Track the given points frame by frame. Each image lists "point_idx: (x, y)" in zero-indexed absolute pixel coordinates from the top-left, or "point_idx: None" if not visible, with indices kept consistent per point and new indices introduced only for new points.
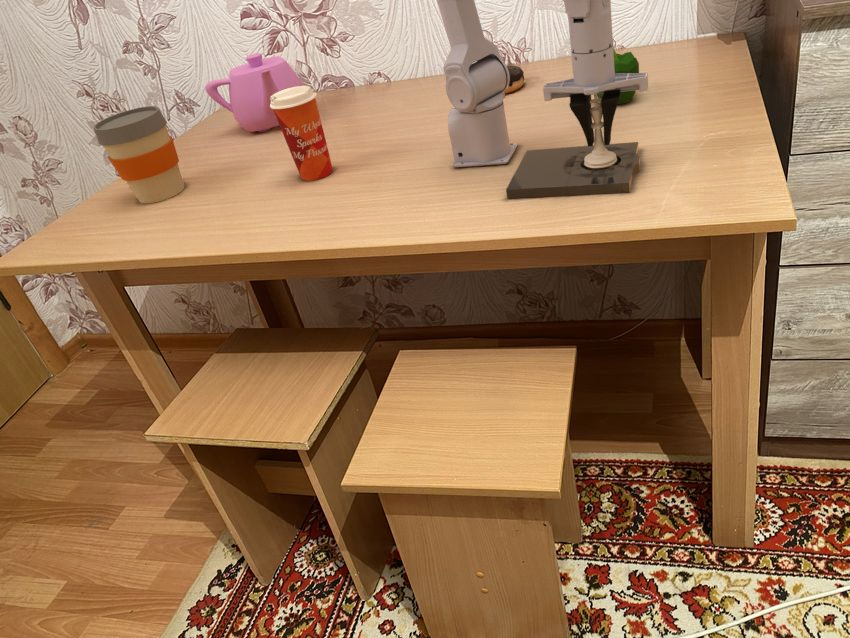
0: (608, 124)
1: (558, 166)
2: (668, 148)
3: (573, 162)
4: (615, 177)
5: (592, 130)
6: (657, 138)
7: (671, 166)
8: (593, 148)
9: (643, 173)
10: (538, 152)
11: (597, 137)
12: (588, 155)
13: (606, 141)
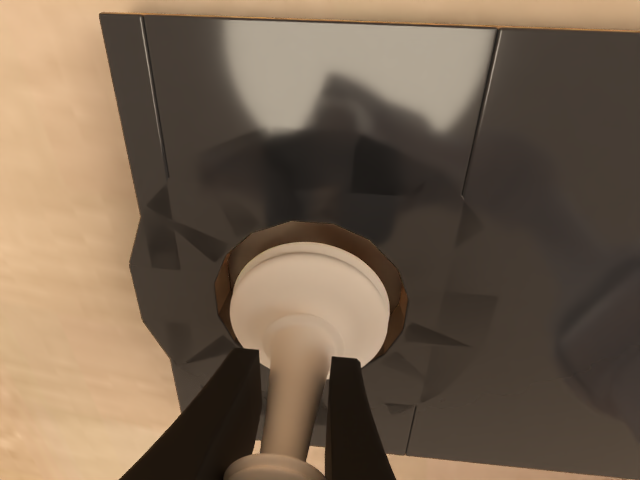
0: (161, 459)
1: (521, 308)
2: (101, 395)
3: (441, 332)
4: (198, 107)
5: (326, 468)
6: None
7: (36, 263)
8: None
9: (127, 224)
10: (597, 453)
11: (293, 403)
12: (365, 341)
13: (237, 362)
